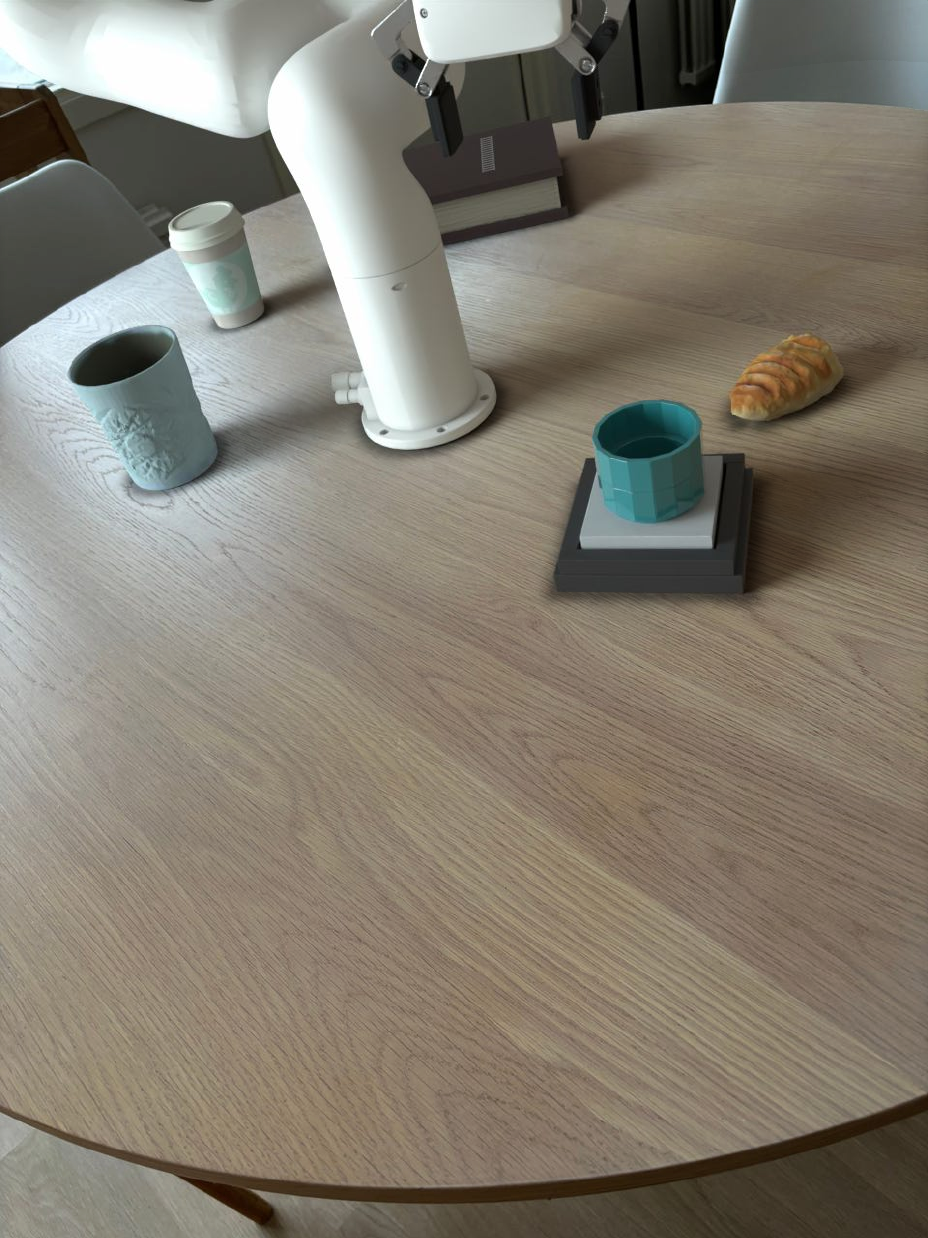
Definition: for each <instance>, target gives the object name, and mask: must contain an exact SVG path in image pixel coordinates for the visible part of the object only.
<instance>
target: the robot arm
mask: <svg viewBox="0 0 928 1238" xmlns="http://www.w3.org/2000/svg"><path fill="white" fill-rule="evenodd" d="M601 1H602V2H603V3H604V5H605V11H604V14H603V18H602V20H601V23H600V24H599V26H598V27H597V29H596V30H595V31H594V33H593V35H592V34H591V33H590V32H589V31H588V30H587V29H586V28H585V27H584V26H583V25H582V24H581V23H580V22H579V21H578V20H579V19H580V18H581V15H582V11H583V1H582V0H209V1H190V0H0V48H1V49H2V51H4V52H5V53H6V54H7V55H8V56H10V57H11V58H12V59H13V60H14V61H15V62H17V63H18V64H19V65H20V66H21V67H23V68H25V69H26V70H27V71H29V72H30V73H32V74H33V75H35V76H37V77H39V78H41V79H42V80H44V81H47V82H49V83H50V84H52V85H55V86H58V87H60V88H63V89H66V90H68V91H72V92H75V93H78V94H82V95H86V96H90V97H94V98H97V99H98V98H99V99H102V100H103V99H104V100H108V101H112V102H116V103H121V104H125V105H129V106H132V107H136V108H138V109H142V110H144V111H147V112H149V113H152V114H155V115H159V116H162V117H165V118H168V119H171V120H174V121H176V122H181V123H184V124H187V125H191V126H194V127H196V128H200V129H204V130H205V131H206V130H207V131H210V132H212V133H216V134H219V135H223V136H226V137H231V138H237V139H249V138H254V137H257V136H259V135H261V134H264V133H266V132H268V131H270V133H271V136H272V138H273V140H274V143H275V145H276V148H277V150H278V152H279V154H280V156H281V157H282V160H283V161H284V163H285V165H286V166H287V168H288V170H289V172H290V174H291V176H292V178H293V180H294V181H295V183H296V185H297V187H298V189H299V191H300V194H301V196H302V197H303V199H304V202H305V204H306V206H307V209H308V211H309V212H310V216H311V218H312V221H313V224H314V226H315V229H316V231H317V234H318V237H319V240H320V243H321V246H322V249H323V252H324V255H325V258H326V261H327V265H328V267H329V269H330V272H331V276H332V279H333V282H334V285H335V288H336V291H337V294H338V297H339V301H340V303H341V307H342V310H343V312H344V316H345V318H346V322H347V325H348V329H349V331H350V335H351V337H352V341H353V343H354V346H355V350H356V353H357V355H358V359H359V362H360V365H361V371H351V370H350V371H334V372H332V374H331V377H330V386H331V389H332V391H333V392H334V400H335V402H336V404H337V405H350V404H357V403H358V404H359V405H360V406H363V409H362V412H361V424H362V426H363V428H364V429H363V430H364V432H365V433H366V435H367V437H368V438H369V439H370V440H372V441H373V442H374V443H376V444H378V445H380V446H383V447H386V448H389V449H393V450H404V451H405V450H406V451H407V450H421V449H428V448H433V447H437V446H441V445H443V444H447V443H450V442H452V441H455V440H457V439H459V438H462V437H463V436H465V435H467V434H468V433H470V432H471V431H474V430H475V429H476V428H478V427H479V426H480V425H481V424H482V423H484V422H485V421H486V419H487V418H489V415H491V413H492V412H493V410H494V408H495V406H496V402H497V392H496V387H495V384H494V381H493V379H492V378H491V377H490V376H489V374H488V373H486V372H484V371H483V370H481V369H479V368H476V367H474V366H473V364H472V360H471V356H470V352H469V348H468V344H467V339H466V335H465V331H464V327H463V321H462V318H461V314H460V310H459V305H458V301H457V297H456V293H455V290H454V285H453V281H452V277H451V273H450V268H449V264H448V259H447V255H446V253H445V252H446V251H445V247H444V245H443V243H442V239H441V235H440V231H439V227H438V223H437V219H436V216H435V212H434V209H433V207H432V204H431V202H430V200H429V198H428V196H427V194H426V192H425V191H424V189H423V188H422V186H421V185H420V184H419V182H418V181H417V180H416V179H415V177H414V176H413V175H412V174H411V172H410V171H409V169H408V168H407V166H406V164H405V162H404V160H403V157H402V151H403V150H406V148H407V147H408V146H410V145H411V144H412V142H414V141H415V140H417V139H418V138H419V137H421V136H422V135H423V134H424V133H425V132H426V131H428V130H430V129H431V133H432V138H433V140H434V142H435V143H437V142H440V144H441V149H442V154H443V156H444V158H446V157H452V156H453V154H455V152H456V151H457V149H458V148H459V146H460V145H461V143H462V141H463V136H464V132H463V128H462V123H461V122H462V121H461V118H460V114H459V113H460V112H459V108H458V104H457V103H458V102H457V100H458V98H459V96H460V94H461V91H462V89H463V86H464V82H465V78H466V63H468V62H469V63H470V62H475V61H482V60H488V59H489V60H490V59H494V58H501V57H508V56H513V55H520V54H525V53H526V54H527V53H531V52H532V53H533V52H538V51H543V50H546V49H552V48H554V49H555V50H556V51H557V52H558V53H559V54H560V55H561V56H562V57H563V58H564V59H566V60H567V62H568V63H570V65H571V66H573V69H574V73H573V74H572V77H571V79H570V89H571V95H572V102H573V109H574V111H573V112H574V119H575V124H576V125H575V126H576V133H577V138H578V139H580V140H581V141H588V140H590V139H591V137H592V134H593V132H594V130H595V128H596V125H597V122H598V121H601V120H602V118H603V113H604V112H603V110H604V109H603V99H602V98H603V97H602V91H601V83H600V81H601V80H600V72H599V63H600V62H601V61H602V59H603V58H604V56H605V55H606V54H607V52H608V51H609V49H610V48H611V46H612V45H613V44H614V42H615V41H616V39H617V38H618V36H619V34H620V31H621V29H622V26H623V23H624V20H625V18H626V14H627V12H628V8H629V6H630V3H631V0H601Z"/></svg>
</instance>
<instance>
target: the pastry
mask: <svg viewBox="0 0 928 1238" xmlns="http://www.w3.org/2000/svg"><path fill="white" fill-rule="evenodd" d="M844 374H845V372H844V368H843V366H842V365H841V363H840V360H839V357H838V356H837V355H836V354H835V353H834V352H833V349H832V346H831V344H830V343H829V342H828V341H826V340H825V339H823V338H822V337H820V336H817V335H815V334H812V333H804V334H794V333H793V334H790V335H789V337H788V338H785V339H783V340H782V341H781V342H780V343H778V344H777V345H775V346H773V347H770V348H768V349H766V350H765V351H763V352H761V353H759V354H758V355H756V357H755V358H754V359H753V360H752V362H750V363H749V365H748V366H747V367H746V368H745V369H744V370H743V372H742V373H741V376H740V377H739V378H738V379H737V382H736V383H735V385H734V387H733V389H732V391H731V392H730V394H729V400H730V413H731V415H734V416H736V417H739V418H740V419H745V420H751V421H758V422H766V421H767V422H770V421H772V420H778V419H780V418H781V417H782V416H785V415H789V414H794V413H797V412H798V411H801V410H803V409H804V408H806V407H809V406H811V405H812V404H814V403H815V402H817V401H819V400H820V398H822V397H823V396H827V395H828V394H829V395H830V393H832V392H833V391H834V390H835V387H836V386H837V385H839V383H840V381H841V380H842V379H843V378H844Z"/></svg>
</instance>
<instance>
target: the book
mask: <svg viewBox="0 0 928 1238" xmlns="http://www.w3.org/2000/svg"><path fill="white" fill-rule="evenodd" d="M553 126H554V125H553V122H552V116H551V115H546V116H542V117H539V118H535V119H531V120H525V121H522V122H518V123H513V124H509V125H505V126H501V127H496V128H492V129H488V130H484V131H480V132H476V133H471V134H467V135H463V141H462V143H461V145H460V146H459V148H458V149H457V151H456V152H455V154H453V156H452V157H446V158H444V156H443V154H442V149H441V144H440V141H438V142H433V143H429V144H425V145H420V146H417V147H412V148H408V149H404V150H403V151H402V157H403V160H404V162H405V164H406V166H407V168H408V169H409V171H410V172H411V174H412V175H413V176H414V177H415V179H416V180H417V181H418V182H419V184H420V185H421V186H422V188H423V189H424V191H425V192H426V194H427V196H428V198H429V200H430V202H431V204H432V207H433V209H434V212H435V216H436V219H437V223H438V227H439V231H440V235H441V239H442V243H443V246H447V245H452V244H456V243H461V242H466V241H470V240H471V241H472V240H475V239H478V238H483V237H487V236H488V237H489V236H492V235H493V236H494V235H497V234H501V233H506V232H511V231H515V230H519V229H520V230H521V229H524V228H529V227H535V226H537V225H542V224H547V223H551V222H556V221H561V220H565V219H569V218H570V215H569V214H570V213H569V208H568V204H567V199H566V194H565V189H564V184H563V180H562V176H564V174H563V168H562V163H561V159H560V154H559V149H558V145H557V144H558V143H557V140H556V139H557V138H556V134H555V131H554V127H553Z"/></svg>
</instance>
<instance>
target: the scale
mask: <svg viewBox="0 0 928 1238" xmlns="http://www.w3.org/2000/svg"><path fill="white" fill-rule="evenodd" d="M704 456H723V480H722V488H721V496H720V504H719V512H718V520H717V528H716V537H715V545H714V549H582V547H581V542H580V534H581V530H582V526H583V522H584V518H585V514H586V511H587V507H588V503H589V499H590V495H591V491H592V488H593V484H594V480H595V476H596V472H597V468H596V462H595V457H585V460H584V464H583V466H582V470H581V473H580V476H579V480H578V483H577V487H576V491H575V495H574V498H573V501H572V506H571V509H570V512H569V516H568V518H567V523H566V527H565V529H564V534H563V537H562V541H561V545H560V548H559V552H558V555H557V559H556V563H555V566H554V569H553V574H552V578H553V584H554V588H555V591H556V592H566V593H567V592H573V593H574V592H576V593H577V592H579V593H645V594H646V593H657V594H660V593H661V594H664V593H665V594H726V595H727V594H729V595H731V594H732V595H733V594H735V595H739V594H740V595H743V594H744V593H745V585H746V574H747V573H746V572H747V564H748V563H747V562H748V551H749V542H750V541H749V540H750V531H751V530H750V528H751V518H752V506H753V495H754V468H753V467H746V454H745V453H744V452H740V453H739V452H738V453H737V452H734V453H733V452H732V453H704Z"/></svg>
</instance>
